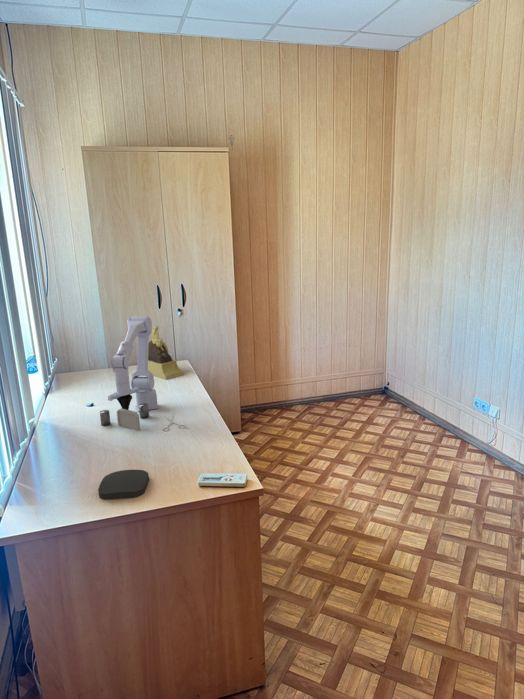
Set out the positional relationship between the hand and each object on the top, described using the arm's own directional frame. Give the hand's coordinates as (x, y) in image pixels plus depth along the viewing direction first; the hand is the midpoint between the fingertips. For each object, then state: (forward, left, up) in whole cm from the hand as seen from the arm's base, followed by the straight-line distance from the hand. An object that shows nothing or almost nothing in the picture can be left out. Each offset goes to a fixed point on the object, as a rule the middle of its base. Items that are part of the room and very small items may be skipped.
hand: (125, 411), depth 206 cm
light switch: (0, +6, -6) cm, 8 cm away
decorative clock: (-32, -73, -6) cm, 80 cm away
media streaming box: (+10, +56, -6) cm, 58 cm away
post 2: (-8, -4, -5) cm, 11 cm away
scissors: (-18, +10, -6) cm, 21 cm away
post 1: (+9, -4, -5) cm, 11 cm away
